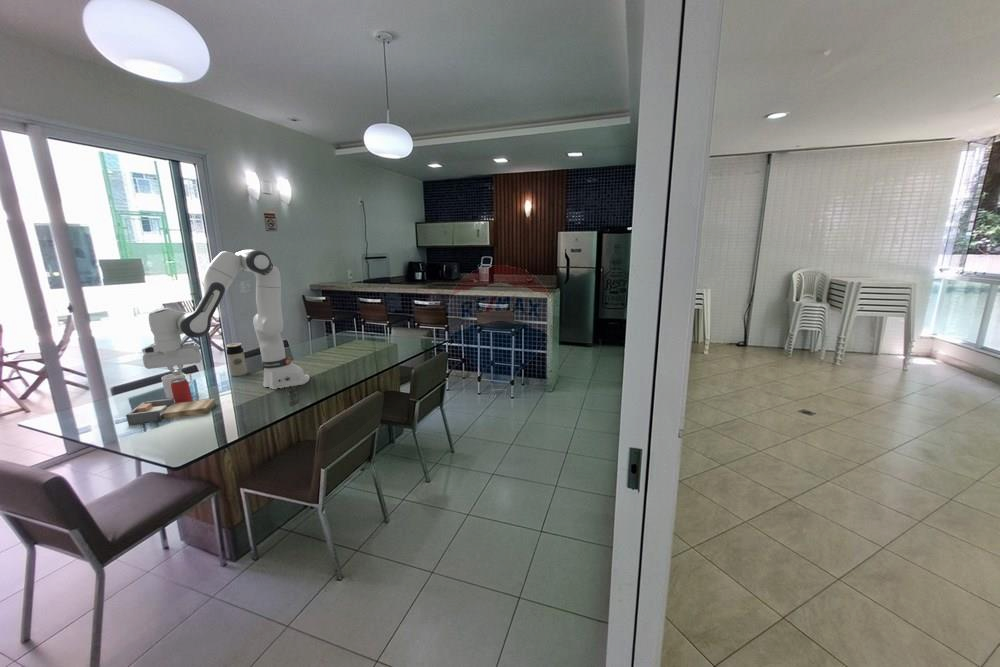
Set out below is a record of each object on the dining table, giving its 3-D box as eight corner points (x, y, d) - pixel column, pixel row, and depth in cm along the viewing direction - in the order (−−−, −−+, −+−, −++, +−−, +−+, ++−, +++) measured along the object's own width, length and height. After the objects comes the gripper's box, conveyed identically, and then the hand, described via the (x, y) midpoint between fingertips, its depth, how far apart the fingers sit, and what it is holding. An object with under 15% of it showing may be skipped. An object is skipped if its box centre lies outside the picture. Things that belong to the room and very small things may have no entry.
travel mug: (232, 373, 225) (226, 343, 221) (248, 370, 229) (243, 342, 224) (230, 377, 218) (223, 347, 214) (246, 375, 222) (240, 345, 217)
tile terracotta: (151, 402, 172) (143, 404, 171) (145, 407, 168) (137, 408, 167) (154, 413, 173) (146, 414, 173) (148, 417, 169) (140, 419, 168)
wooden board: (215, 404, 183) (214, 398, 182) (206, 413, 173) (205, 407, 172) (175, 409, 178) (174, 403, 178) (164, 419, 168) (162, 413, 167)
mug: (172, 401, 188) (167, 379, 185) (162, 398, 191) (157, 377, 188) (199, 392, 198) (194, 371, 195) (189, 389, 202) (184, 369, 199)
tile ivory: (167, 411, 175) (166, 405, 174) (162, 415, 170) (161, 409, 170) (154, 413, 173) (152, 407, 173) (148, 417, 169) (147, 411, 168)
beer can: (196, 401, 187) (190, 378, 184) (181, 407, 181) (175, 383, 178) (187, 399, 189) (181, 377, 186) (172, 405, 183) (166, 382, 180)
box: (175, 408, 180) (173, 398, 178) (160, 421, 167) (157, 410, 165) (146, 411, 176) (143, 401, 175) (128, 425, 163) (125, 415, 162)
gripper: (200, 340, 173) (207, 368, 177) (145, 346, 167) (154, 375, 171) (194, 344, 167) (202, 373, 171) (137, 350, 161) (146, 380, 165)
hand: (177, 374), depth 171 cm, fingers closed
